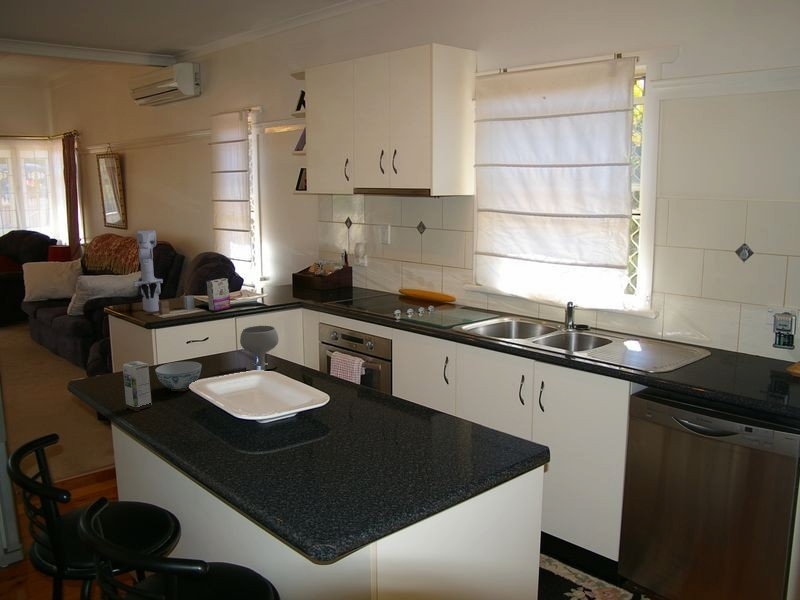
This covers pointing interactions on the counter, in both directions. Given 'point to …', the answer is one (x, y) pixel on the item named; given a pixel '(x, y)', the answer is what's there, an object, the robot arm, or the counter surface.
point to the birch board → (180, 312)
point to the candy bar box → (218, 294)
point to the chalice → (259, 341)
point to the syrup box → (136, 384)
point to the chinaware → (178, 374)
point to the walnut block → (163, 308)
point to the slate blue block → (189, 302)
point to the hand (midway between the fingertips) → (149, 298)
